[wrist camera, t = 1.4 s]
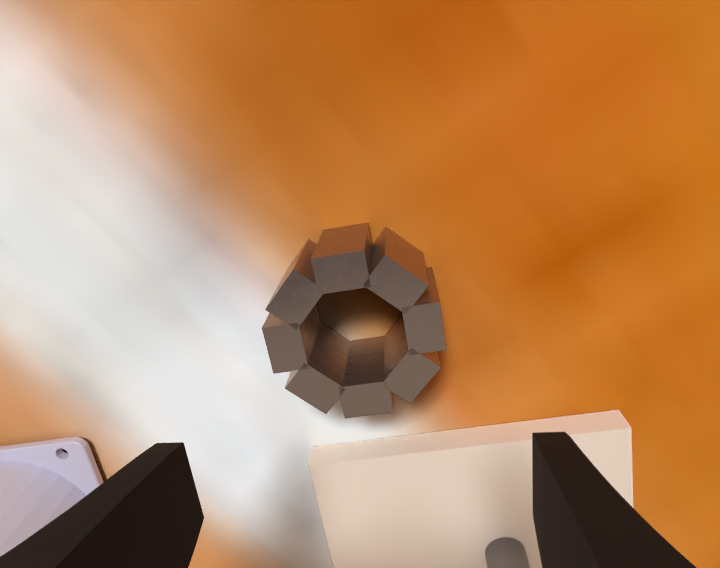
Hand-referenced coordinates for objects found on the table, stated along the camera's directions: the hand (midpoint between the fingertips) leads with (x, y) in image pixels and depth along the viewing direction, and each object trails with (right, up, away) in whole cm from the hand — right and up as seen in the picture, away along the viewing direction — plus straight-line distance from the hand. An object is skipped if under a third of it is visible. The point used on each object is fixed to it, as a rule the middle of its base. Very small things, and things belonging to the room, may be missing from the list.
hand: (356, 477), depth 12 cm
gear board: (+5, -9, +13) cm, 17 cm away
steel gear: (0, +3, +9) cm, 10 cm away
